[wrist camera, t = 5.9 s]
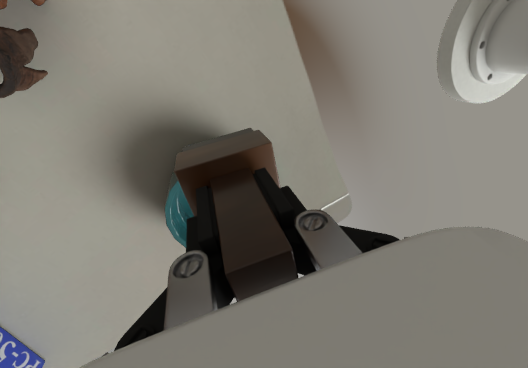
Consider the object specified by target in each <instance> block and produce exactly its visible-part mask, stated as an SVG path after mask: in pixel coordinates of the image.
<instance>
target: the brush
mask: <svg viewBox="0 0 528 368" xmlns="http://www.w3.org/2000/svg"><path fill="white" fill-rule="evenodd" d="M264 167H265V168H266V170H267V171H268V173H269V174H270V175H271V177H272V178H273V180H274V181H275V183H276V184H277V186H278V187H279V188H281V187H280V182H279V177H278V172H277V167H276V162H275V157H274V152H273V147H272V143H271V142H270V141H269V139H268V138H267V137H266V136H265V135H264V134H263V133H262V132H261V131H260V130H256V131H253V130H252V129H251V128H248V129H245V130H241V131H238V132H234V133H231V134H227V135H224V136H220V137H217V138H213V139H210V140H206V141H203V142H199V143H196V144H192V145H189V146H186V147H183V150H182V152H180V153H177V156H176V163H175V170H174V173H175V175H176V177H177V179H178V182H179V184H180V186H181V188H182V190H183V193H184V195H185V197H186V199H187V201H188V204H189V206H190V208H191V210H192V213H193V215H194V216H197V206H196V189H197V188H201V187H204V186H207V187H208V188H210V187H211V189H212V196H213V202H214V208H215V214H216V221H217V227H218V234H219V240H220V246H221V253H222V259H223V265H224V271H225V275H226V278H227V280H228V282H229V284H230V287H231V289H232V291H233V294H234V296H235V298H236V300H237V302H238V301H241V300H243V299H246V298H249V297H251V296H254V295H256V294H259V293H261V292H264V291H267V290H269V289H272V288H274V287H277V286H279V285H282V284H285V283H287V282H290V281H292V280H295V279H298V274H297V269H296V264H295V259H294V254H293V249H292V247H291V245H290V243H289V241H288V240H287V238H286V236H285V234H284V232H283V230H282V228H281V227H280V225H279V223H278V221H277V219H276V217H275V215H274V214H273V212H272V210H271V208H270V206H269V204H268V203H267V201H266V199H265V197H264V195H263V193H262V191H261V190H260V188H259V186H258V184H257V182H256V180H255V178H254V177H253V175H252V174H254V173H255V172H254V171H255V170H258V169H261V168H264Z"/></svg>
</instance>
